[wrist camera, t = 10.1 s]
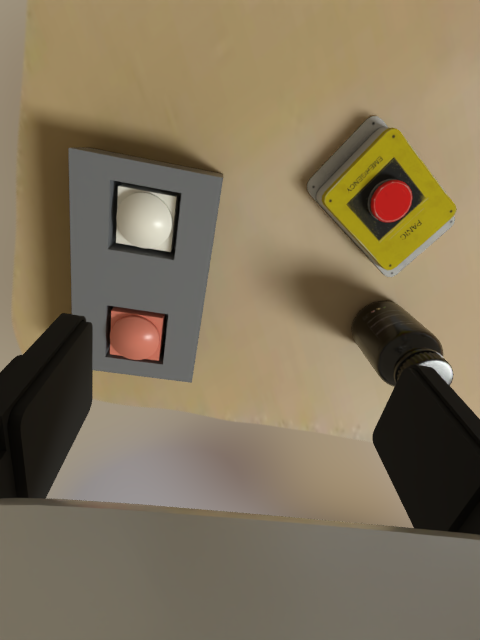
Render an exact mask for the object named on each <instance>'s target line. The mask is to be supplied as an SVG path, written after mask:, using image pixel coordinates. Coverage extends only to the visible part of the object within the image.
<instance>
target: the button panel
mask: <svg viewBox="0 0 480 640" xmlns="http://www.w3.org/2000/svg"><path fill="white" fill-rule="evenodd" d="M68 149H69V198H70V247H71V297H72V315H79V316H84V317H85V318H86V322H91V323H92V327H93V353H92V370H96V371H104V372H112V373H120V374H128V375H136V376H144V377H152V378H160V379H168V380H175V381H183V382H191V383H192V377H193V370H194V364H195V357H196V351H197V344H198V338H199V331H200V325H201V318H202V312H203V305H204V298H205V292H206V285H207V279H208V272H209V266H210V259H211V253H212V246H213V240H214V233H215V227H216V220H217V214H218V207H219V201H220V194H221V188H222V181H223V174H221V173H216V172H211V171H206V170H200V169H195V168H190V167H185V166H180V165H175V164H170V163H165V162H160V161H155V160H150V159H144V158H139V157H134V156H129V155H124V154H119V153H114V152H109V151H104V150H99V149H94V148H68ZM125 183H127V184H132V185H138V186H143V187H148V188H154V189H159V190H164V191H170V192H175V193H180V195H179V204H178V213H177V223H176V232H175V242H174V247H173V249H172V251H171V252H167V251H162V250H156V249H150V248H140V247H137V246H132V245H126V244H120V243H116V230H117V220H116V215H117V202H118V186H119V185H122V184H125ZM114 306H115V307H122V308H129V309H136V310H142V311H149V312H156V313H163V314H166V318H165V328H164V337H163V347H162V351H161V355H160V358H159V361H157V360H150V359H142V360H132V359H128V358H125V357H123V356H119V355H112V354H110V332H111V310H112V309H113V307H114Z"/></svg>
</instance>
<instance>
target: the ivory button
mask: <svg viewBox="0 0 480 640" xmlns="http://www.w3.org/2000/svg"><path fill="white" fill-rule="evenodd" d="M179 195H180V193H175V192H170V191H164V190H159V189H154V188H148V187H143V186H138V185H132V184H127V183H125V184H122V185H119V186H118V202H117V215H116V220H117V230H116V243H120V244H126V245H132V246H137V247H140V248H150V249H156V250H162V251H167V252H171V251H172V249H173V247H174V242H175V232H176V223H177V213H178V204H179Z"/></svg>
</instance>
